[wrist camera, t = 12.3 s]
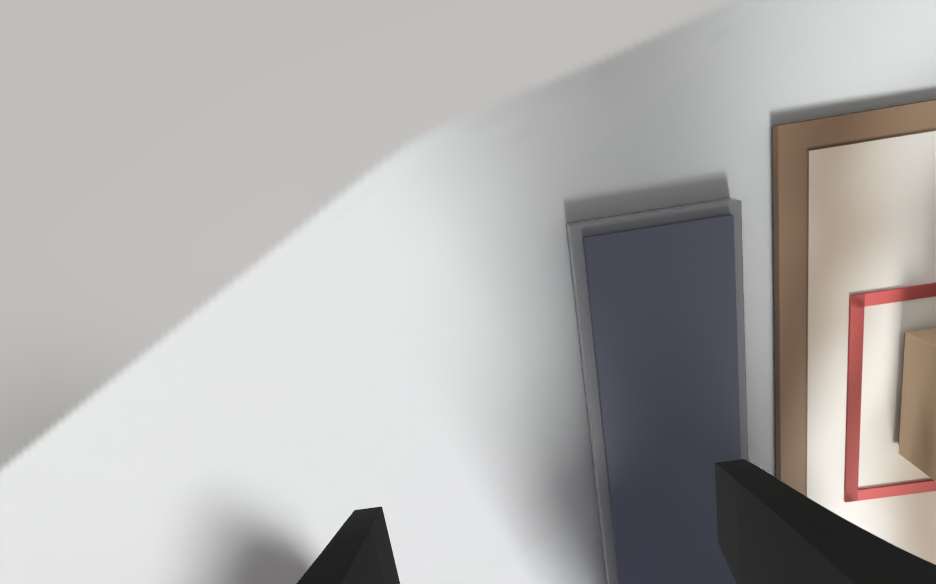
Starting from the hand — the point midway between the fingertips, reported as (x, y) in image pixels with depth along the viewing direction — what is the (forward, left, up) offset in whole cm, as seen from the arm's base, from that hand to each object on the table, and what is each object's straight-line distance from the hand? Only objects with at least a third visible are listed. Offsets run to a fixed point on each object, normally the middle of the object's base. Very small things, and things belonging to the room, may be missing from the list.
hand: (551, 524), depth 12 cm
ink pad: (-6, +4, -10) cm, 12 cm away
